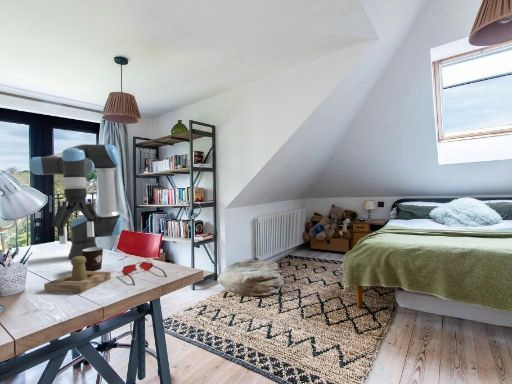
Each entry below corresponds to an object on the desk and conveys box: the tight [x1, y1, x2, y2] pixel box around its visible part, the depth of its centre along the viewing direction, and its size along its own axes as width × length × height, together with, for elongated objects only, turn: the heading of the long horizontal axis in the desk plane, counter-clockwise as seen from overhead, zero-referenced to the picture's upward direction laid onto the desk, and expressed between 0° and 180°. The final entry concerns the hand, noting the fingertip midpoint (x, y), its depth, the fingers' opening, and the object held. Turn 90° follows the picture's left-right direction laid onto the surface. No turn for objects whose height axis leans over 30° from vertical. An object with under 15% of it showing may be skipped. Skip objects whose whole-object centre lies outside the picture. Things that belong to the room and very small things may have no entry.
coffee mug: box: [79, 246, 104, 271], centre depth 130 cm, size 12×9×10 cm
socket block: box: [43, 270, 112, 294], centre depth 110 cm, size 16×16×3 cm
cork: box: [70, 256, 87, 281], centre depth 110 cm, size 6×6×11 cm
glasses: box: [121, 260, 168, 286], centre depth 119 cm, size 14×16×5 cm
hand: (77, 240), depth 110 cm, fingers open, 13 cm apart
